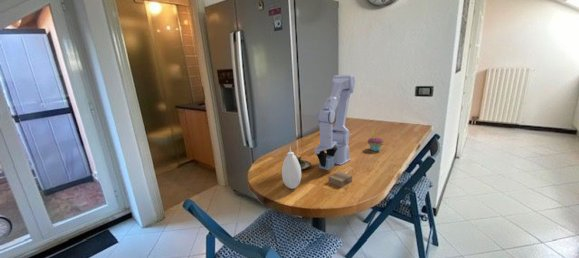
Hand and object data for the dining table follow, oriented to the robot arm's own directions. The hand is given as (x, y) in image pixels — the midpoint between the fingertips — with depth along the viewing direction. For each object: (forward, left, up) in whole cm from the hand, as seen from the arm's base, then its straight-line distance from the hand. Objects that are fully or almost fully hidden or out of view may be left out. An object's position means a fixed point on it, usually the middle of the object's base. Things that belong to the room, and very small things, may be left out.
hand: (326, 164), depth 117 cm
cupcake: (-42, +3, -4) cm, 42 cm away
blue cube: (0, 0, -2) cm, 2 cm away
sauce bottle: (+22, -1, -4) cm, 22 cm away
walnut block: (+5, +11, -4) cm, 13 cm away
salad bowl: (+4, -14, -4) cm, 15 cm away
